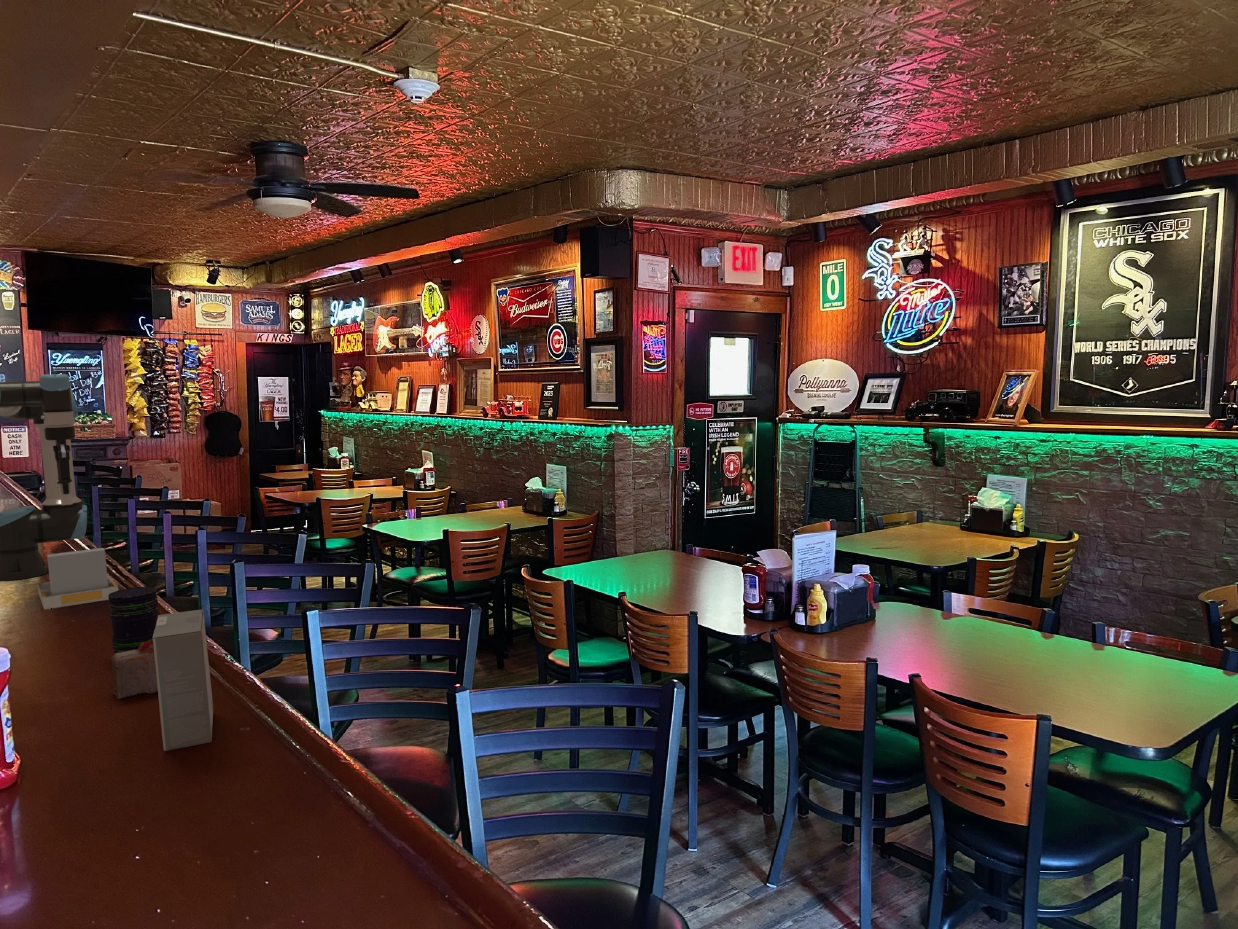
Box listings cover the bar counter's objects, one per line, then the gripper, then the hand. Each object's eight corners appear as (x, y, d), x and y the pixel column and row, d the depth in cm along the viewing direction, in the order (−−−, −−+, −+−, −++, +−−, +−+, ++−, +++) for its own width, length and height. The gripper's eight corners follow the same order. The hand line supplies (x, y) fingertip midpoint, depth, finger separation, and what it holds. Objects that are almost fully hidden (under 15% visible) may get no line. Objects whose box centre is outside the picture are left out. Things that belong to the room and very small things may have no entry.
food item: (184, 676, 182) (180, 630, 181) (194, 685, 176) (190, 638, 175) (110, 692, 173) (106, 645, 172) (118, 703, 167) (113, 653, 166)
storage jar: (107, 664, 191) (101, 599, 189) (120, 651, 200) (114, 589, 199) (156, 659, 193) (151, 594, 192) (167, 647, 203) (161, 585, 202)
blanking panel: (51, 601, 250) (47, 554, 249) (107, 593, 258) (102, 547, 257) (53, 605, 246) (48, 557, 245) (109, 596, 254) (104, 550, 253)
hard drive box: (167, 720, 157) (158, 614, 155) (213, 712, 160) (205, 608, 158) (162, 752, 143) (151, 636, 141) (212, 743, 146) (203, 629, 144)
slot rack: (38, 594, 262) (37, 582, 262) (108, 584, 274) (107, 573, 273) (44, 610, 243) (42, 597, 243) (119, 598, 254) (118, 586, 254)
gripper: (42, 426, 257) (50, 503, 260) (45, 428, 247) (53, 508, 250) (71, 424, 262) (79, 500, 264) (76, 426, 251) (83, 505, 254)
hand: (66, 504), depth 257 cm, fingers closed
